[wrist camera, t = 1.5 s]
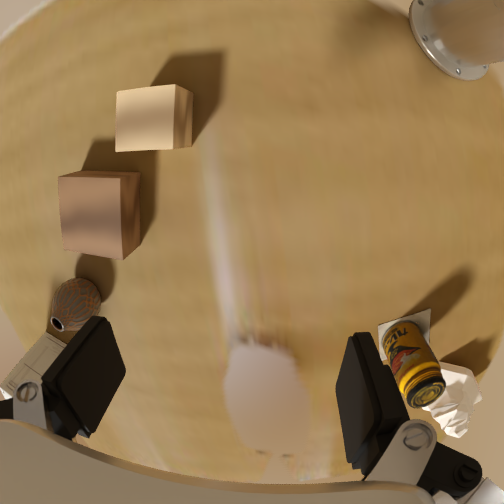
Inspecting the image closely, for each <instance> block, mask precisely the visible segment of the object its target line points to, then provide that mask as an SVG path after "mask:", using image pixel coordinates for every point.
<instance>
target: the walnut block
mask: <svg viewBox="0 0 504 504" xmlns="http://www.w3.org/2000/svg"><path fill="white" fill-rule="evenodd" d="M58 190H59V207H60V219H61V229H62V238H63V246H64V250H69V251H74V252H80V253H85V254H91V255H96V256H102V257H107V258H113V259H119V260H124V259H125V258H126V257H127V256H128V255H129V254H131V253H132V252H133V251H134V250H135V249H136V248H137V247H138V246H140V245H141V244H140V172H124V171H78V172H74V173H70V174H67V175H63V176H59V177H58Z"/></svg>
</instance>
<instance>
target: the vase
mask: <svg viewBox="0 0 504 504" xmlns="http://www.w3.org/2000/svg"><path fill="white" fill-rule="evenodd" d="M100 306H101V298H100V294H99V292H98V290H97V288H96V286H95V285H94V284H93V283H92V282H90V281H88V280H86V279H84V278H73V279H70V280H68V281H66V282H65V283H63V284H62V285H61V286H60V287H59V288H58V290H57V291H56V293H55V295H54V297H53V301H52V315H51V318H50V321H51V324H52V325H53V327H54V328H55V329H56V330H58V331H60V332H62V331H65V330H73V331H76V330H80V329H81V328H82V326H83V325H84V324H85V323H86V322H87V321H88V320H89V318H90V317H91V316H97V315H98V313H99V310H100Z"/></svg>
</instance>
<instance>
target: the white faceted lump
mask: <svg viewBox="0 0 504 504" xmlns="http://www.w3.org/2000/svg"><path fill="white" fill-rule="evenodd" d="M438 362H439V364H440V367H441V373H442V376H443V379H444V380H445V382H446V388H445V391H444V392H443V394H442V395H441V396H440V397H439V398H438V399H437V400H436V401H435V402H434V403H432V404H430V405H428V406H426V407H422V409H423V410H427V411H431V414H432V417H433V418H434V419H435V420H436V421H437V422H439V423H440V425H441V429H442V430H444V431H445V432H446V434H447V435H451V436H454V437H458V438H460V437H461V436H462V435H463V434H464V433H465V432H466V431H468V426H467V424H468V422H469V421H470V416H471V414H472V413H473V411H474V408H473V405H474V404H475V403H477V402H479V401H481V400H482V395H481V391H480V389H479V387H478V384H477V382H476V379H475V377H474V375H473V372H472V371H471V370H469V369H467V368H465V367H461V366H457V365H453V364H449V363H444V362H440V361H438Z"/></svg>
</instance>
